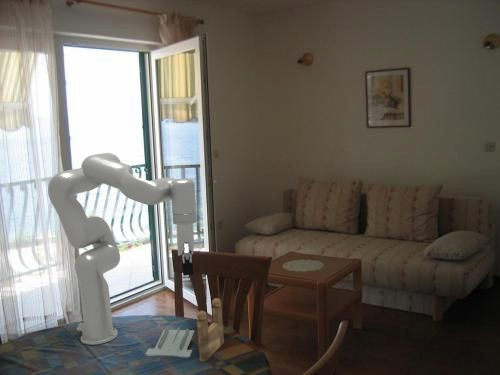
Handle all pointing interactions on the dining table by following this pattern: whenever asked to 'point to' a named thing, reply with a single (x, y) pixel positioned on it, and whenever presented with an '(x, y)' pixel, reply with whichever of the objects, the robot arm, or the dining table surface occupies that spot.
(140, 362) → the dining table surface
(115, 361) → the dining table surface
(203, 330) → the headboard
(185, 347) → the metal bracket
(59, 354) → the dining table surface
